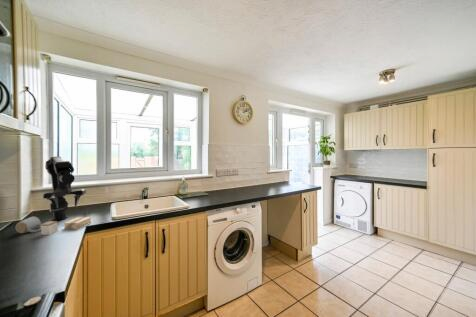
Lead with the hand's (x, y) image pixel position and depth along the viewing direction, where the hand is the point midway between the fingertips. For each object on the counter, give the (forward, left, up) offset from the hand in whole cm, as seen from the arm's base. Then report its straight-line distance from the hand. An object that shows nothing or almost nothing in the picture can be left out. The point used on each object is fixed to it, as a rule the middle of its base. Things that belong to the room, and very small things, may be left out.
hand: (66, 207), depth 119 cm
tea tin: (-4, -7, -13) cm, 15 cm away
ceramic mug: (-19, -5, -13) cm, 24 cm away
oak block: (+4, +3, -13) cm, 14 cm away
